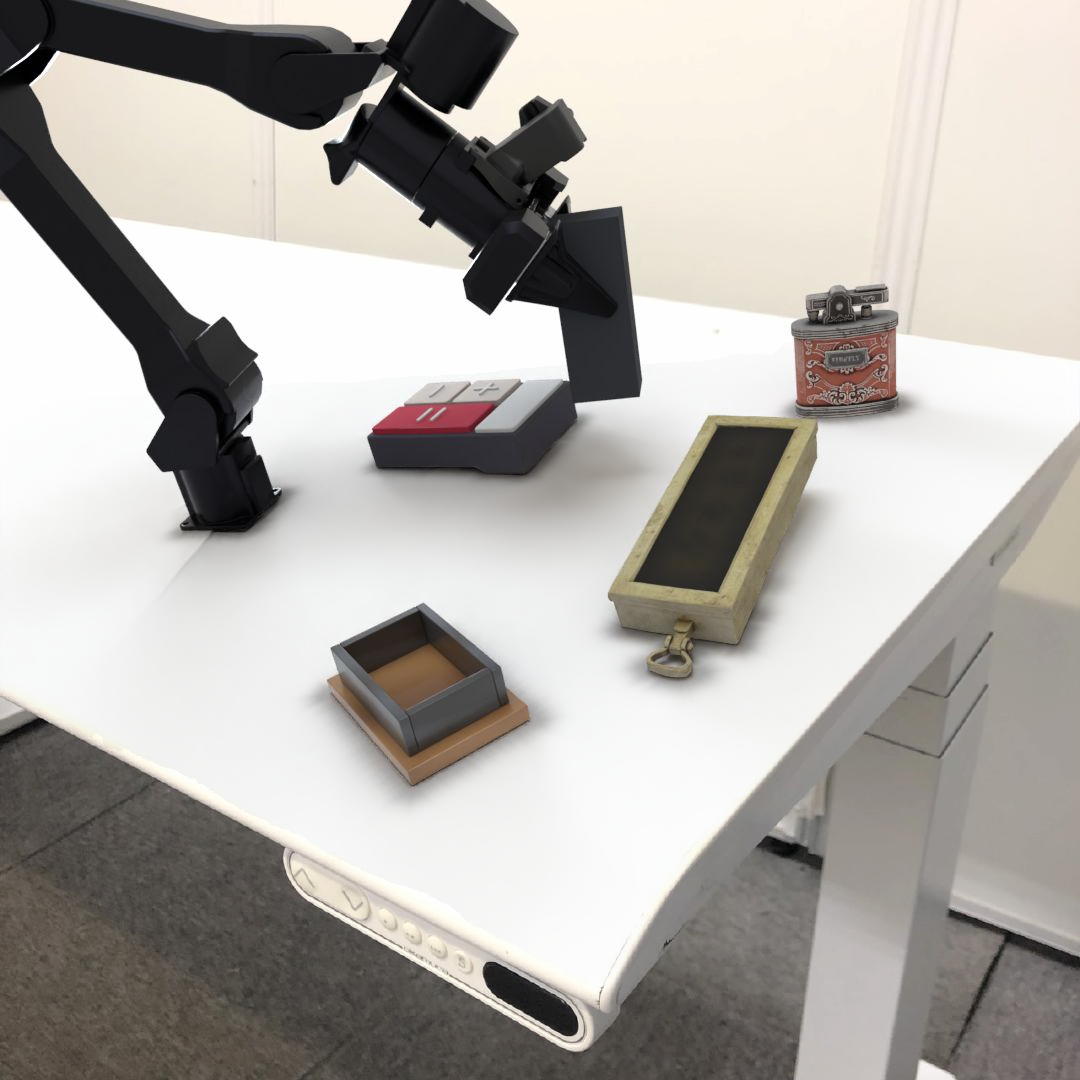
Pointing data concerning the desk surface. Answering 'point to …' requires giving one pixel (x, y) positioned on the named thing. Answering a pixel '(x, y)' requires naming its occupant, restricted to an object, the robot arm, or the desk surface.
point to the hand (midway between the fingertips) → (615, 303)
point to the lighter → (845, 354)
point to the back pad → (592, 341)
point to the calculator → (475, 425)
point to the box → (715, 533)
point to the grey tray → (423, 691)
